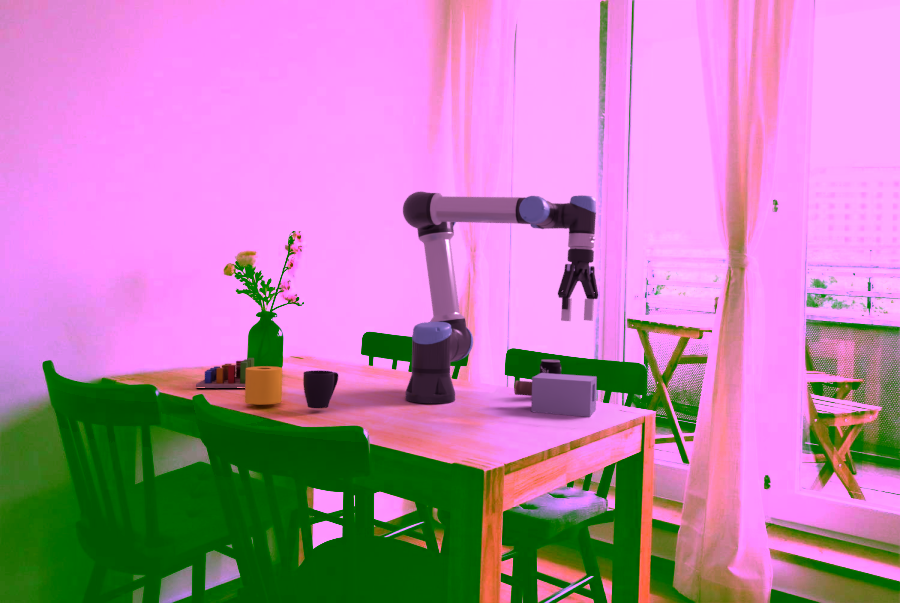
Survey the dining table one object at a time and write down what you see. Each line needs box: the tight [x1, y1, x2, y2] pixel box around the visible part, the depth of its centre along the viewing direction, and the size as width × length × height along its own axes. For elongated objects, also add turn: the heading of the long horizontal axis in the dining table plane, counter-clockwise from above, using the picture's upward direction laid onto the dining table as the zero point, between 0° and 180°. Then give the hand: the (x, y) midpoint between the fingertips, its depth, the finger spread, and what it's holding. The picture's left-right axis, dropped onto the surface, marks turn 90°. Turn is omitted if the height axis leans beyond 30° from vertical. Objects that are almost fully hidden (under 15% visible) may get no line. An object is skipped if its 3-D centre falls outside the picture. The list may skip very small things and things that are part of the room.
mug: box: [303, 370, 339, 409], centre depth 186 cm, size 8×12×10 cm
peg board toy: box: [195, 357, 255, 388], centre depth 223 cm, size 18×17×9 cm
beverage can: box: [539, 359, 562, 374], centre depth 210 cm, size 7×7×12 cm
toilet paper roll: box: [244, 365, 283, 406], centre depth 191 cm, size 10×10×9 cm
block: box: [530, 372, 598, 418], centre depth 189 cm, size 16×12×10 cm
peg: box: [513, 380, 532, 397], centre depth 191 cm, size 12×4×4 cm, turn 71°
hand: (577, 320), depth 199 cm, fingers open, 13 cm apart
